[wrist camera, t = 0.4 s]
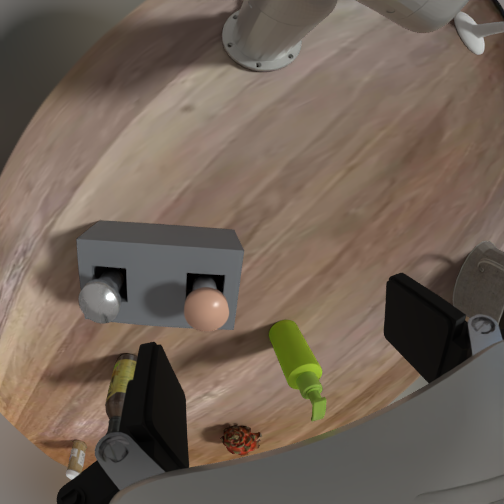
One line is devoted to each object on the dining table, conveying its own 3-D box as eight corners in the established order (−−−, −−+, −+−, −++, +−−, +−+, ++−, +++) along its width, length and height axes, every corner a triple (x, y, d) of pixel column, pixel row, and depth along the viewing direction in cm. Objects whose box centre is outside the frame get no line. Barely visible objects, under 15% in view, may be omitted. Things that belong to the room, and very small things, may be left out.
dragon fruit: (222, 415, 62) (252, 425, 68) (207, 442, 59) (238, 450, 65) (244, 428, 56) (274, 436, 62) (228, 457, 52) (259, 463, 58)
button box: (99, 220, 41) (76, 238, 32) (234, 229, 46) (244, 250, 37) (102, 288, 45) (85, 318, 36) (226, 296, 50) (233, 329, 40)
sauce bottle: (114, 351, 49) (92, 429, 31) (143, 352, 51) (131, 434, 32) (119, 374, 51) (104, 450, 33) (148, 375, 53) (139, 454, 34)
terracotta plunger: (186, 266, 38) (184, 291, 31) (224, 268, 39) (231, 294, 32) (184, 300, 40) (183, 330, 33) (221, 301, 41) (226, 332, 34)
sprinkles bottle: (73, 437, 57) (64, 472, 44) (87, 442, 58) (80, 478, 46) (73, 444, 58) (66, 478, 46) (87, 449, 59) (81, 483, 47)
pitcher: (466, 324, 69) (516, 366, 46) (430, 282, 59) (503, 335, 36) (502, 265, 65) (556, 296, 42) (474, 206, 55) (552, 236, 31)
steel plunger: (95, 259, 35) (76, 282, 28) (130, 262, 36) (116, 286, 29) (97, 292, 37) (81, 320, 30) (131, 296, 38) (120, 325, 31)
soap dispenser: (270, 350, 55) (300, 427, 37) (267, 323, 53) (301, 401, 35) (297, 344, 56) (335, 416, 38) (297, 317, 54) (340, 389, 35)
